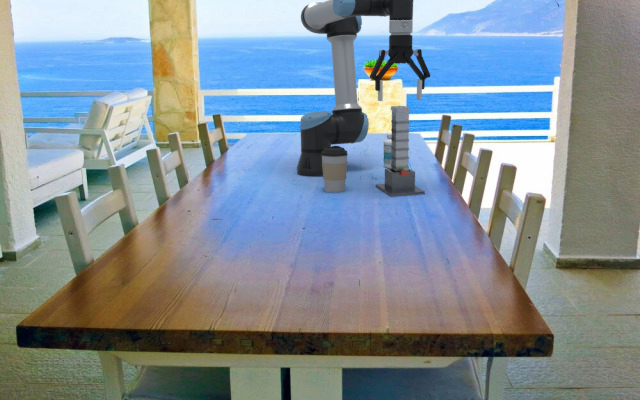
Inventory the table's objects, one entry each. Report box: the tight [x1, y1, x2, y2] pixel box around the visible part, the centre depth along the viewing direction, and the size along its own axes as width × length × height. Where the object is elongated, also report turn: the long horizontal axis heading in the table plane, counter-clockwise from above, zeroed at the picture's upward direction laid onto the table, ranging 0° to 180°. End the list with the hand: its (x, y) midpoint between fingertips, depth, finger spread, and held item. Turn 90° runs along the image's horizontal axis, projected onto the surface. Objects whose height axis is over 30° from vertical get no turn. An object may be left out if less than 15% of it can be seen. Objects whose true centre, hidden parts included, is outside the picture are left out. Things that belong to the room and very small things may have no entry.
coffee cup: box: [321, 145, 348, 193], centre depth 235 cm, size 9×9×15 cm
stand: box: [375, 168, 426, 197], centre depth 233 cm, size 12×16×8 cm
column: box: [390, 105, 411, 171], centre depth 230 cm, size 4×6×21 cm
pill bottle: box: [383, 132, 392, 169], centre depth 275 cm, size 8×7×14 cm
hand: (399, 100), depth 228 cm, fingers open, 13 cm apart
